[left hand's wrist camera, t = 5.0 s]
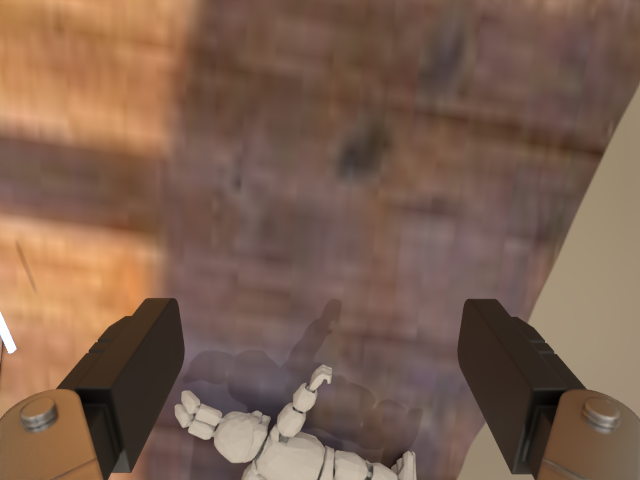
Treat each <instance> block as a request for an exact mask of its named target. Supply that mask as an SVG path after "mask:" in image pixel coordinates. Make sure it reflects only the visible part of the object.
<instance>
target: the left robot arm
mask: <svg viewBox="0 0 640 480" xmlns="http://www.w3.org/2000/svg"><path fill="white" fill-rule="evenodd" d="M184 350H185V349H184V340H183V333H182V326H181V319H180V313H179V306H178V303H177V300H176V299H174V298H147V299H145V300H144V301H143V303H142V304H141V305H140V306H139V308H138V309H137V310H136V311H135V313H134V314H133V315H132V316H125V317H124V318H122V319H120V320H119V321H117V322H116V323H114V324H113V325H111V326H110V327H108V328H107V330H106V331H105V332H104V333H103V334H102V336H101V337H100V338H99V339H98V342H96V343H95V344H94V345H93V346H92V347H91V348H90V350H89V353H86V354H85V355H84V357H83V358H82V359H81V360H80V361H79V362H78V364H77V365H76V366H75V367H74V368H73V369H72V371H71V372H70V373H69V374H68V375H67V376H66V378H65V379H64V380H63V381H62V382H61V384H60V385H59V386H58V387H57V388H56V389H54V390H48V391H44V392H41V393H38V394H35V395H32V396H30V397H28V398H26V399H24V400H22V401H21V402H19V403H17V404H16V405H14V406H13V407H12V408H10V409H9V410H8V411H7V412H6V413H5V414H4V415H3V416H2V417H1V419H0V480H108V478H109V476H110V474H111V473H131V472H132V470H133V468H134V466H135V464H136V462H137V460H138V457H139V455H140V453H141V451H142V449H143V447H144V445H145V443H146V441H147V439H148V437H149V435H150V432H151V430H152V428H153V426H154V424H155V422H156V420H157V418H158V416H159V414H160V412H161V410H162V408H163V405H164V403H165V401H166V399H167V397H168V395H169V393H170V391H171V389H172V387H173V385H174V383H175V380H176V378H177V376H178V374H179V372H180V370H181V368H182V365H183V360H184ZM458 361H459V365H460V368H461V371H462V373H463V375H464V377H465V379H466V381H467V383H468V385H469V387H470V389H471V391H472V393H473V395H474V397H475V399H476V401H477V404H478V406H479V408H480V410H481V412H482V414H483V416H484V418H485V420H486V422H487V424H488V426H489V428H490V430H491V432H492V434H493V436H494V438H495V441H496V443H497V445H498V447H499V449H500V451H501V453H502V455H503V457H504V459H505V461H506V463H507V465H508V467H509V469H510V471H511V473H512V474H532V475H533V477H534V479H535V480H640V419H639V417H638V416H637V415H636V414H635V413H634V412H633V411H632V410H631V409H630V408H628V407H627V406H625V405H624V404H623V403H621V402H619V401H618V400H616V399H614V398H612V397H610V396H608V395H605V394H602V393H599V392H596V391H592V390H587V389H586V388H585V387H584V385H583V384H582V383H581V382H580V381H579V380H578V378H577V377H576V376H575V375H574V374H573V373H572V372H571V370H570V369H569V368H568V367H567V366H566V365H565V363H564V362H563V361H562V360H561V359H560V358H559V356H558V355H557V354H554V351H553V349H552V348H551V347H550V346H549V345H548V344H547V343H545V340H544V339H543V338H542V337H541V336H540V334H539V333H538V332H537V331H536V330H535V329H534V328H533V327H532V326H530V325H529V324H527V323H526V322H524V321H522V320H521V319H519V318H518V317H511V316H510V315H509V314H508V313H507V311H506V310H505V309H504V308H503V306H502V305H501V304H500V303H499V302H498V301H497V300H496V299H467V300H466V301H465V304H464V308H463V314H462V321H461V328H460V334H459V341H458Z"/></svg>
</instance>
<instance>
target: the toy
mask: <svg viewBox="0 0 640 480" xmlns="http://www.w3.org/2000/svg"><path fill="white" fill-rule="evenodd" d="M331 375H332V368H330V367H328V366H326V365H324V364H323V365H321V366H320V367H319V368H317V369H316V370H315V371H314V373H313V374H312V378H311V381H310V384H308V383H303V384H302V385H301V386H300V387H299V388H298V389H297V391H296V392H295V393H294V394H293V403H289V404H287V405H286V406H285V407H284V409H283V410H282V411H281V412H280V414H279V415H278V418H277V424H275V425H274V427H273V428H272V430H271V431H270V433H269V434H270V435H269V436H268V438H267V440H266V441H265V439H266V436H267V433H268V425H269V423H270V420H271V418H270V416H266V415H263V416H262V413H261V412H260V411H254V412H252V413H251V414H250V413H247V414H246V413H242V412H234V411H232V412H230V413H228V414H227V415H225V416H224V417H223V418H221V417H222V413H221V412H220V411H219V410H216V409H214V408H212V407H209V406H207V405H204V404H200V400H199V399H198V398H197V397H196V396H195V395H194V394H193V393H192V392H191V391H190V390H188V391H183V392H182V400H181V401H182V403H183V404H177V405H176V406H175V416H176V417H177V419H178V421H179V422H180V424H181V426H182V427H183V428H184V427H188V426H189V429H188V432H189V433H191V434H193V435H195V436H197V437H200V438H202V439H204V440H206V439H210V438H211V436H212V437H214V445H215V447H216V448H217V450H218V451H219V452H220V453H221V454H222V455H223V456H224V457H225V458H227V459H228V460H229V461H230V462H231V463H241V462H244V463H245V462H248V461H251V460H252V459H253V458H254V457H255V458H254V460H253V462H252V463H251V464H249V465H248V467H247V468H246V469H245V470H244V473H243V477H242V480H416V466H415V453H414V452H413V451H412V452H409V451H407V452H405V453H404V454H403V457H402V458H400V459H398V460H397V463H396V464H395V465H393V466H392V467H391V469H389V468H387V467H386V466H384V465H382V464H381V463H370V462H369V461H367V460H366V461H365V460H363V459H362V458H361V457H359V456H358V455H357V454H355V453H352V452H345V451H339V450H337V451H335V452H334V449H333V448H330V447H328V446H326V445H325V447H324V446H323V445H322V443H321V442H320V441H319V440H318V439H317V438H316V437H315V436H312V435H310V434H307V433H304V432H301V431H300V430H301V428H302V425H303V423H304V421H305V417H306V411H307V410H309V409H311V407H312V406H313V405H314V404H315V400H316V397H317V394H318V393H317V390H316V389H317V388H318V386H319V385H321V383H322V382H323V380H324V379H326V380H327V384H328V383H331V377H332V376H331ZM200 405H201V406H200ZM199 407H200V408H199ZM194 413H195V414H196V413H197V414H196V416H195V418H194V417H193V414H194ZM193 419H194V420H193ZM192 420H193V422H192ZM218 423H219V425H218V427H217V429H216V431H214V429H215V426H216V425H217V424H218ZM264 441H265V442H264ZM261 448H262V449H261ZM257 454H258V455H257Z"/></svg>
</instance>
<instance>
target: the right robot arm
mask: <svg viewBox="0 0 640 480" xmlns="http://www.w3.org/2000/svg"><path fill="white" fill-rule="evenodd" d="M3 341H4V343H5V345H6V347H7V349H8V352H9V353H12V352H13V351H14V350H16V347H15V345H14V343H13V340H12V338H11V336H10V334H9V331H8V329H7V327H6V325H5V322H4V320H3V318H2V315H1V313H0V362H1V352H2V342H3Z"/></svg>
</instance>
